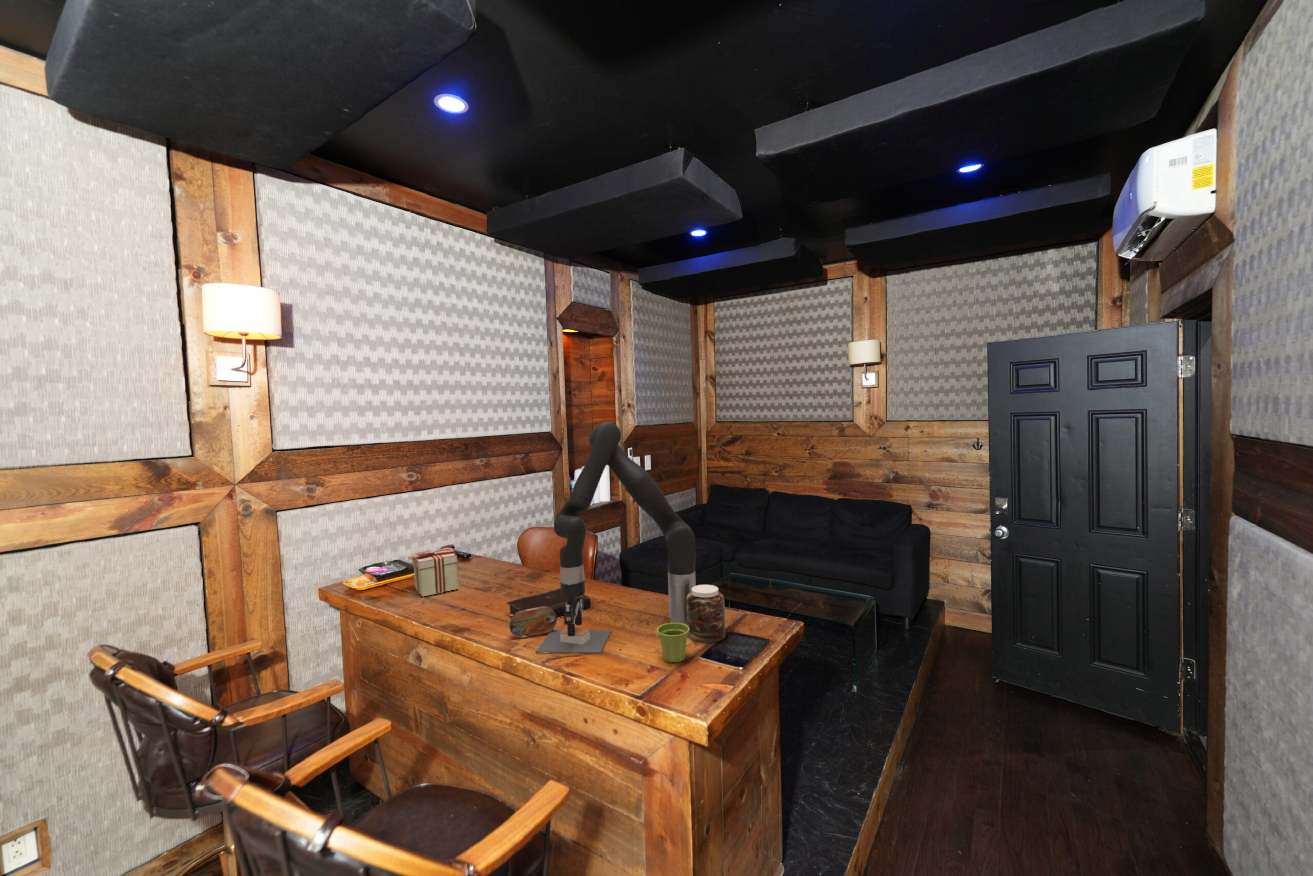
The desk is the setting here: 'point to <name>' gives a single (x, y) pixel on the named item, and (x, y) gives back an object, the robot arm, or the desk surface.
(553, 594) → the diary
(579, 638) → the block
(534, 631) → the tin
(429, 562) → the gift box
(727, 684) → the desk surface
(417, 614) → the desk surface
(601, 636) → the mat
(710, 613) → the jar
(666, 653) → the plant pot
